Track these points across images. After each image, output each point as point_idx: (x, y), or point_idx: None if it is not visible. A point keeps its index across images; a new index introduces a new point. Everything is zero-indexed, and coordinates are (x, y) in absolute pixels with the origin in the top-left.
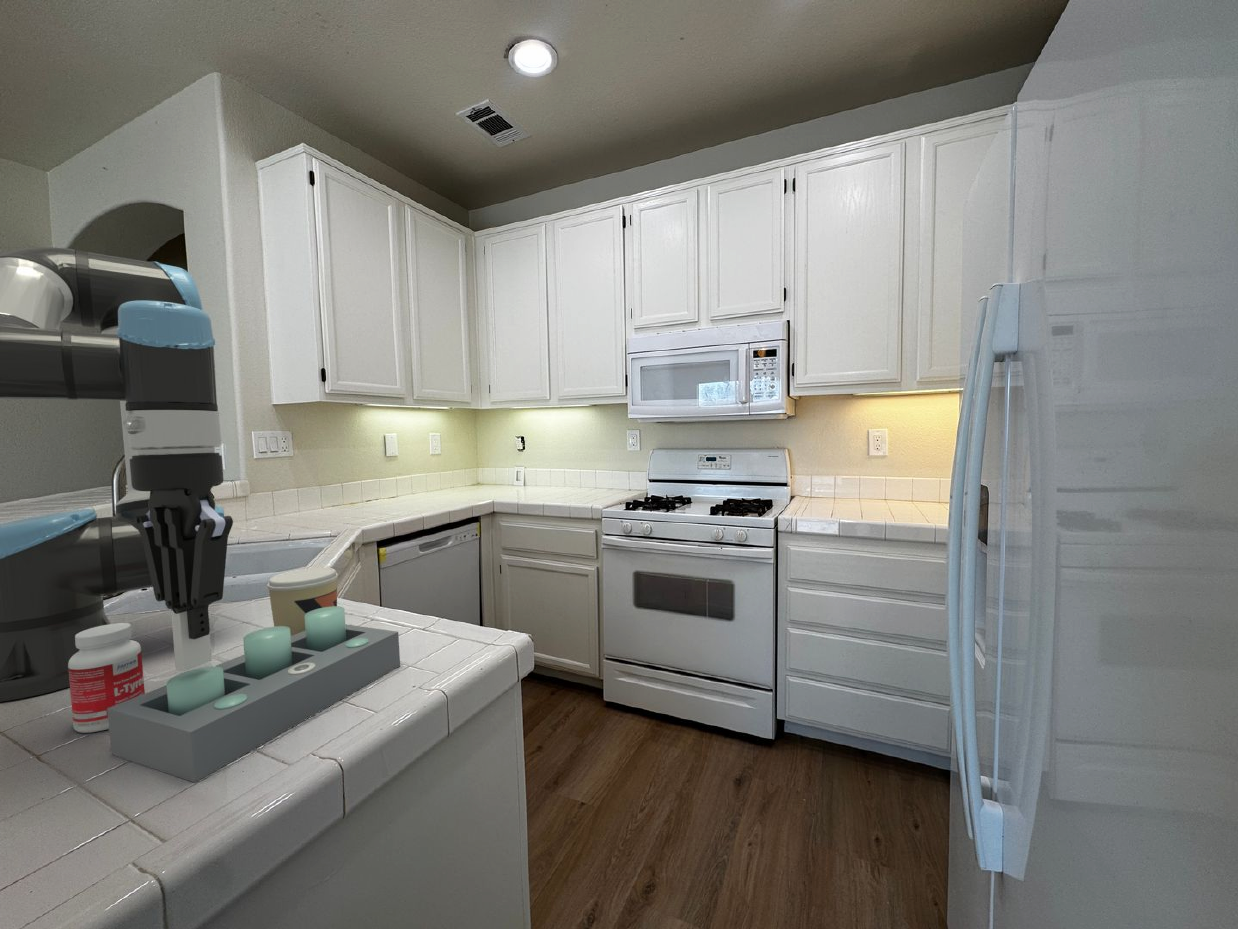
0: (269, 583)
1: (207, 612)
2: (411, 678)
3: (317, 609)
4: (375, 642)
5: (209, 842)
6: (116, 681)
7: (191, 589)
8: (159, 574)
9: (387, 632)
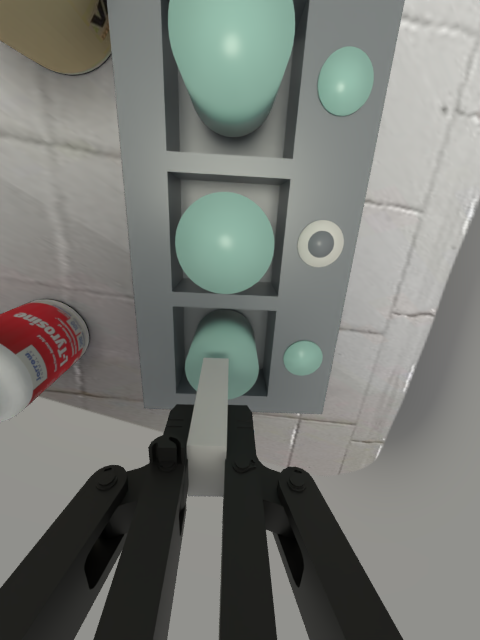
0: None
1: (255, 449)
2: (422, 77)
3: (177, 7)
4: (391, 61)
5: (392, 416)
6: (54, 369)
7: (286, 572)
8: (83, 617)
9: None
